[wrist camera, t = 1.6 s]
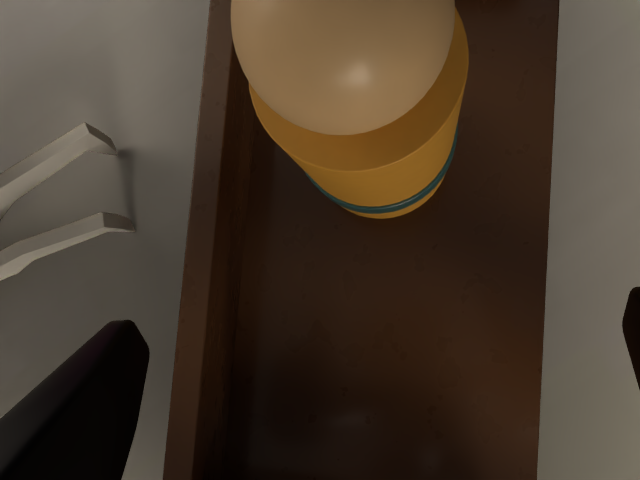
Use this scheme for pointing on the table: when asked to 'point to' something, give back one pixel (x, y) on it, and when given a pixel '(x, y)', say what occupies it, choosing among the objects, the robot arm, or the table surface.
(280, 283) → the wooden desk tray
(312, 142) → the doll
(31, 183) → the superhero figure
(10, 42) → the table surface
